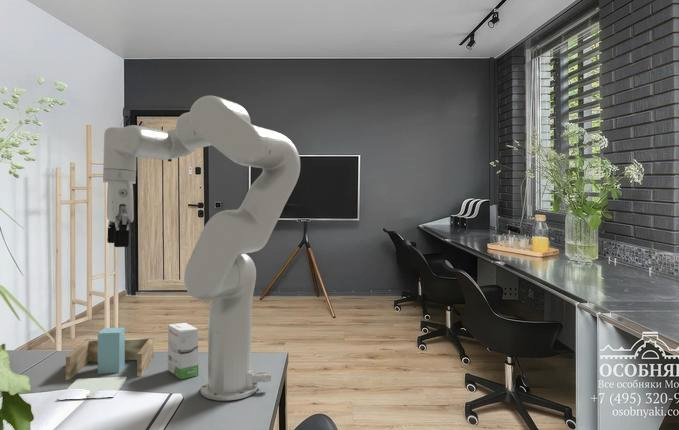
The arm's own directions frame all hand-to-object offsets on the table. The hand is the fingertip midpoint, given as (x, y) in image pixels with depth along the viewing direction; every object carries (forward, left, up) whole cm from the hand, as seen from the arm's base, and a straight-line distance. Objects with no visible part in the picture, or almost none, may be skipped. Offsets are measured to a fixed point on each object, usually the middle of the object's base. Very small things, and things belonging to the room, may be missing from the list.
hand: (117, 244), depth 120 cm
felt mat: (+1, +14, -32) cm, 35 cm away
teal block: (+1, +1, -32) cm, 32 cm away
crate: (+1, 0, -32) cm, 32 cm away
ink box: (-17, +6, -32) cm, 36 cm away
